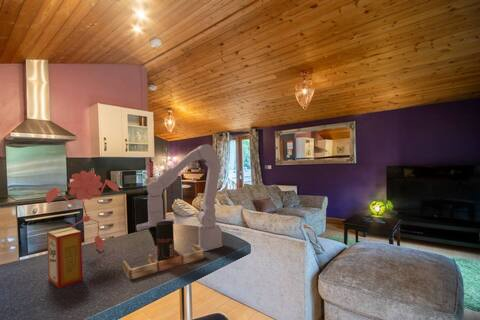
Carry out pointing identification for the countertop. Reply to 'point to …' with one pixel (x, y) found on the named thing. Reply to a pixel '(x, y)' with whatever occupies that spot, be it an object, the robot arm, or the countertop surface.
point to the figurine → (84, 194)
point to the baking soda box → (64, 256)
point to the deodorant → (165, 240)
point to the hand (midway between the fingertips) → (156, 245)
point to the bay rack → (164, 263)
